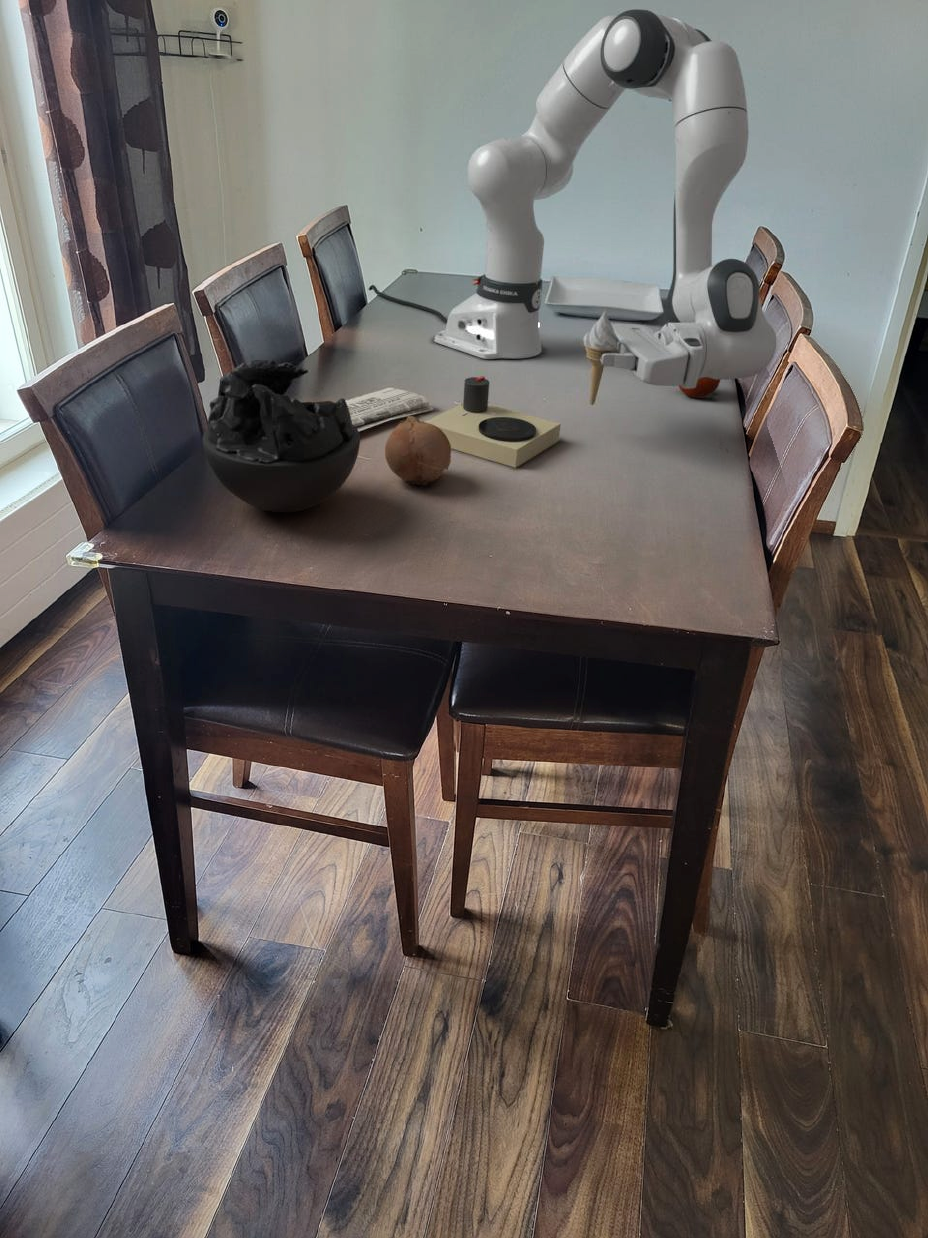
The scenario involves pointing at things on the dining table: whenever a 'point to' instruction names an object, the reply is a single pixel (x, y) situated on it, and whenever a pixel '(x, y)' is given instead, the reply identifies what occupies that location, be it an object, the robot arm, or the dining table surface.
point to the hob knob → (476, 394)
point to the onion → (418, 451)
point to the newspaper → (385, 407)
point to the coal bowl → (277, 439)
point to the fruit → (702, 388)
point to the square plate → (604, 298)
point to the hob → (469, 439)
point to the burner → (507, 429)
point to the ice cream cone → (599, 350)
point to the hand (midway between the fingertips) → (594, 352)
